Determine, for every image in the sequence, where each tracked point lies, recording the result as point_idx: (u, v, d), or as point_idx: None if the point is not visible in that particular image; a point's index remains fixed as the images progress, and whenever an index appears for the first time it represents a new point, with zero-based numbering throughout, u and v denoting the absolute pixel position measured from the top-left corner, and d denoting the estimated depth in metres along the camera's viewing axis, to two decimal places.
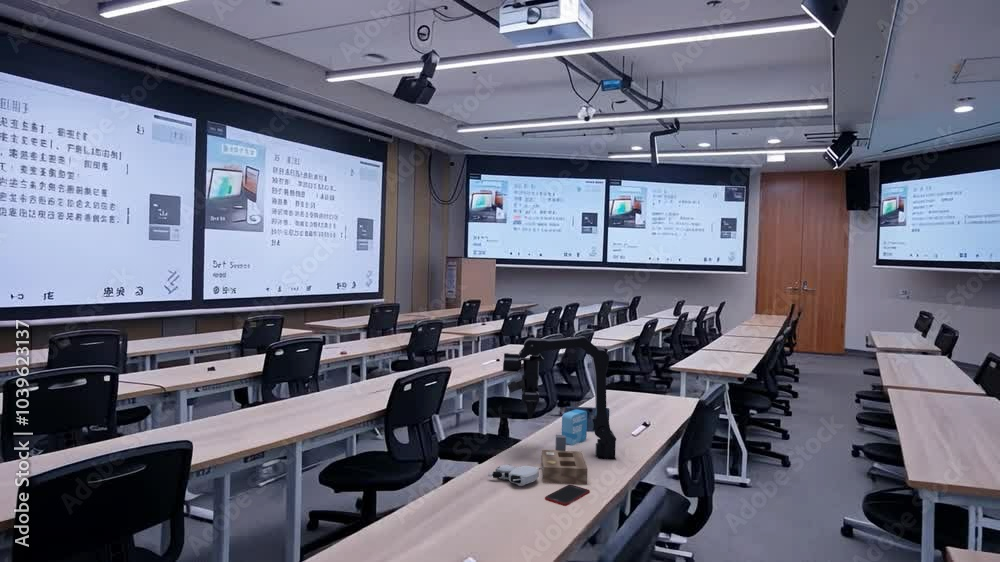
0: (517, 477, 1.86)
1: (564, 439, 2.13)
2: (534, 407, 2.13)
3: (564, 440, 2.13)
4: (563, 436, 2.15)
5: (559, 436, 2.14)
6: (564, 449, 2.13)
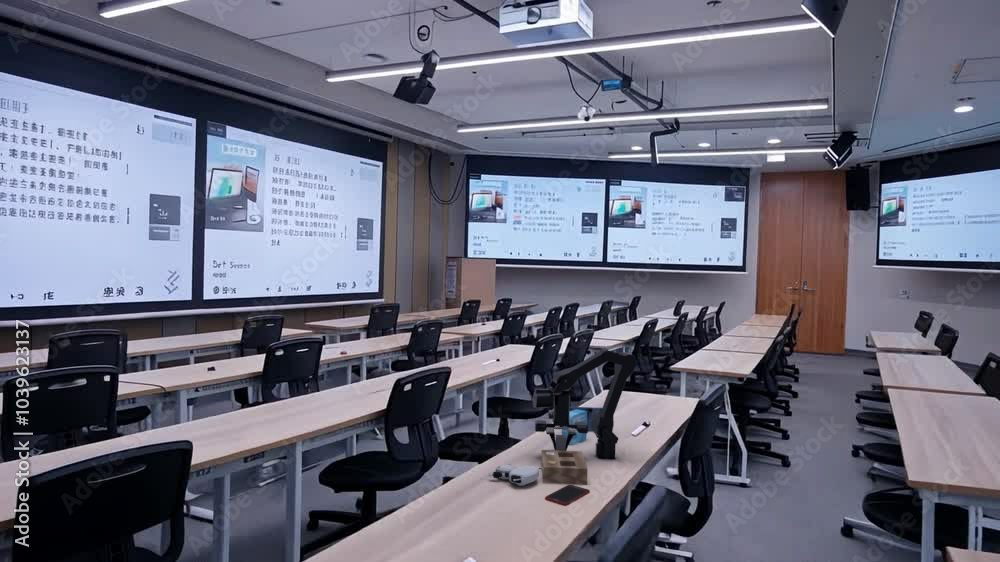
0: (517, 477, 1.86)
1: (564, 439, 2.13)
2: (551, 439, 2.13)
3: (564, 440, 2.13)
4: (563, 436, 2.15)
5: (559, 436, 2.14)
6: (564, 449, 2.13)
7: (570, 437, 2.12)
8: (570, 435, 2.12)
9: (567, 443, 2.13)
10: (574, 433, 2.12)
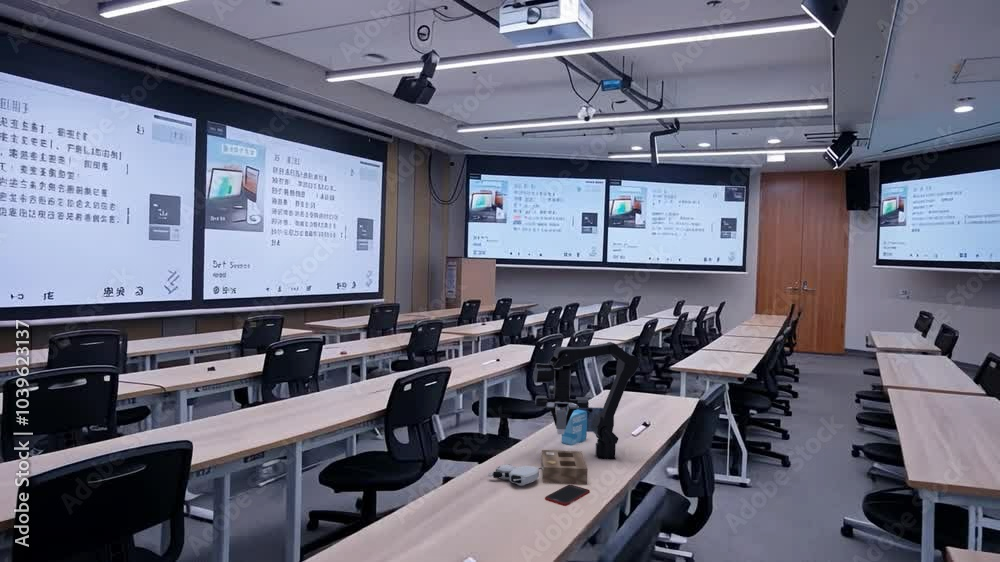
0: (518, 477, 1.86)
1: (565, 414, 2.13)
2: (552, 414, 2.13)
3: (565, 415, 2.13)
4: (563, 411, 2.15)
5: (560, 411, 2.14)
6: (565, 424, 2.13)
7: (571, 412, 2.12)
8: (571, 410, 2.12)
9: (568, 418, 2.13)
10: (575, 408, 2.12)
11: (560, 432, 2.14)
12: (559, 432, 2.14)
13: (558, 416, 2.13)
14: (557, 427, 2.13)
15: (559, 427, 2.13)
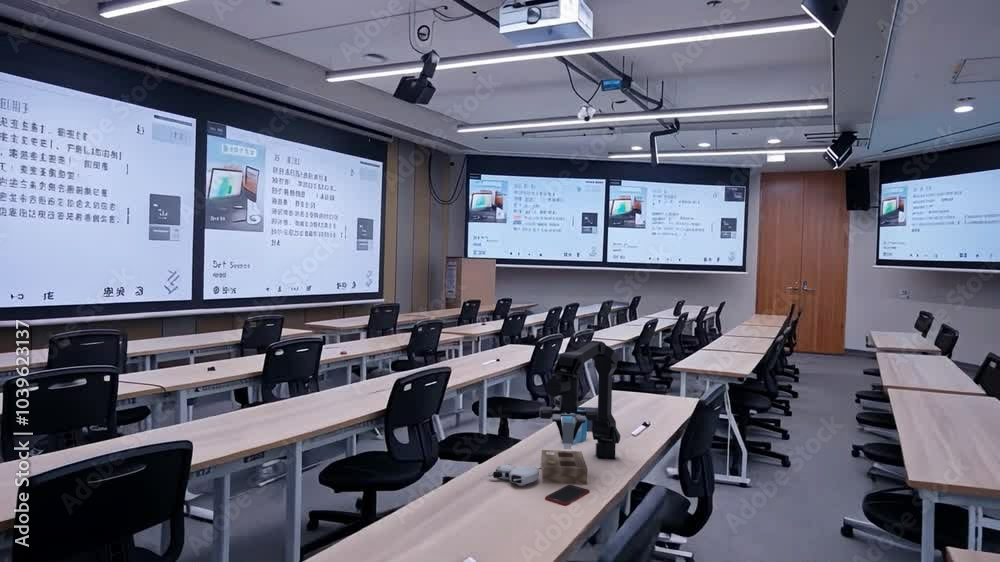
0: (518, 477, 1.86)
1: (572, 427, 1.94)
2: (558, 427, 1.94)
3: (572, 428, 1.94)
4: (570, 423, 1.96)
5: (566, 424, 1.95)
6: (572, 438, 1.94)
7: (578, 425, 1.93)
8: (578, 423, 1.93)
9: (575, 431, 1.94)
10: (583, 420, 1.93)
11: (567, 447, 1.95)
12: (566, 447, 1.95)
13: (564, 429, 1.94)
14: (563, 441, 1.94)
15: (566, 441, 1.94)
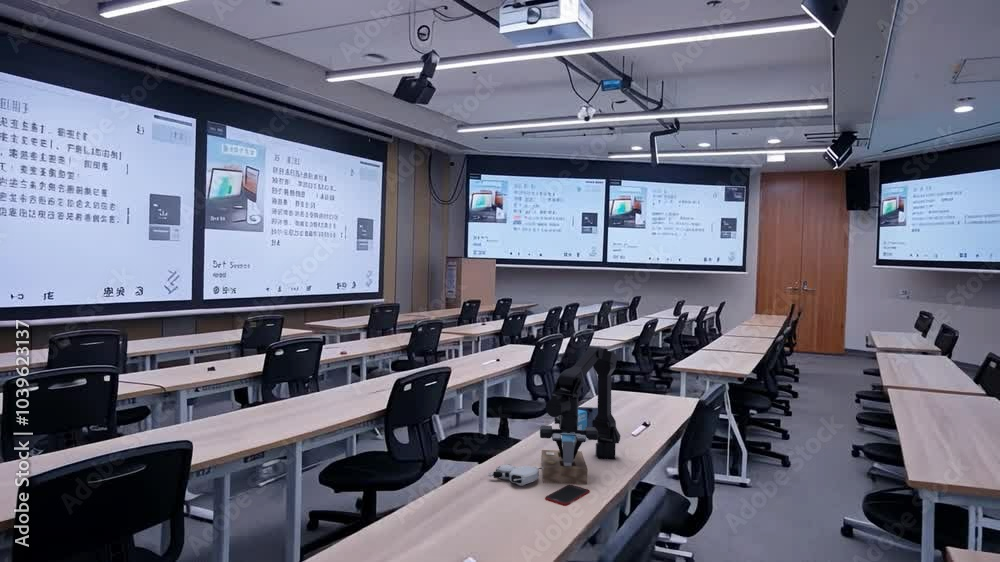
0: (518, 477, 1.86)
1: (572, 446, 1.94)
2: (558, 446, 1.94)
3: (572, 447, 1.94)
4: (571, 442, 1.95)
5: (566, 443, 1.95)
6: (572, 457, 1.94)
7: (579, 444, 1.93)
8: (579, 442, 1.92)
9: (575, 451, 1.94)
10: (583, 440, 1.93)
11: None
12: None
13: (565, 448, 1.94)
14: (564, 460, 1.94)
15: (566, 460, 1.94)
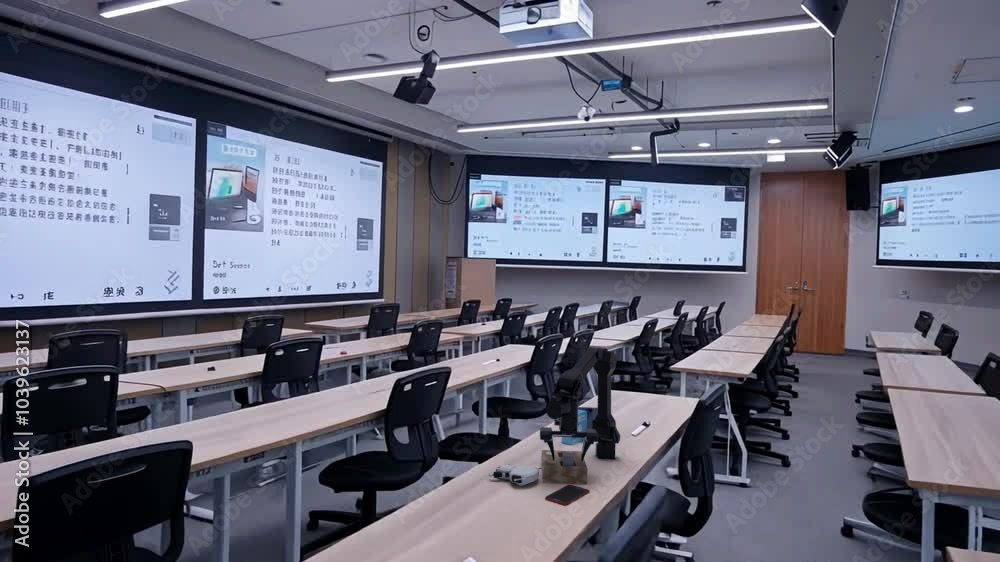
0: (518, 477, 1.86)
1: (572, 458, 1.94)
2: None
3: (572, 459, 1.94)
4: (570, 454, 1.95)
5: (566, 454, 1.95)
6: None
7: (587, 446, 1.93)
8: (587, 444, 1.92)
9: (584, 453, 1.94)
10: (591, 442, 1.93)
11: None
12: None
13: (564, 460, 1.94)
14: None
15: None
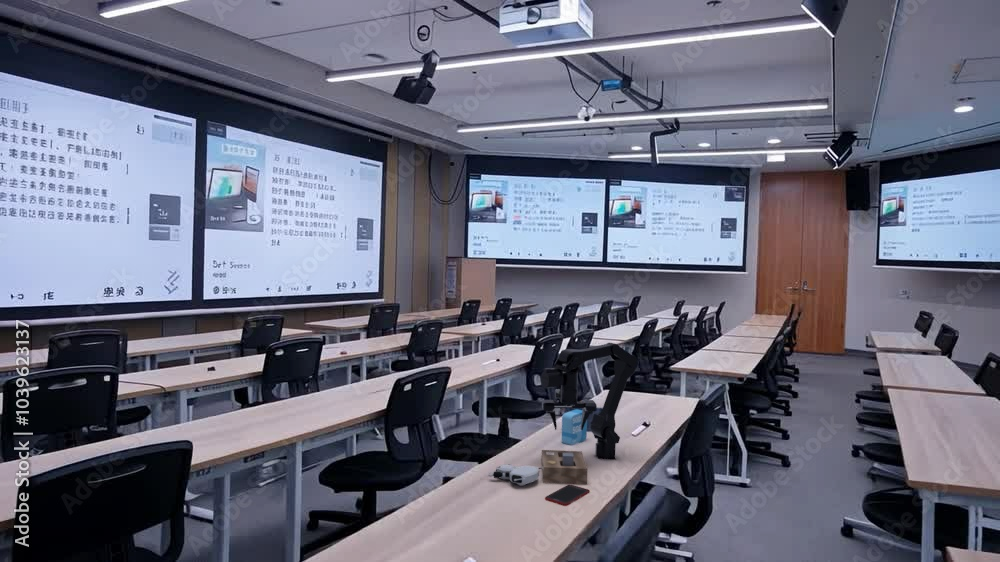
0: (518, 477, 1.86)
1: (572, 458, 1.94)
2: (552, 418, 2.09)
3: (572, 459, 1.94)
4: (570, 454, 1.95)
5: (566, 454, 1.95)
6: None
7: (586, 416, 2.08)
8: (587, 414, 2.08)
9: (583, 422, 2.09)
10: (590, 411, 2.09)
11: None
12: None
13: (564, 460, 1.94)
14: None
15: None
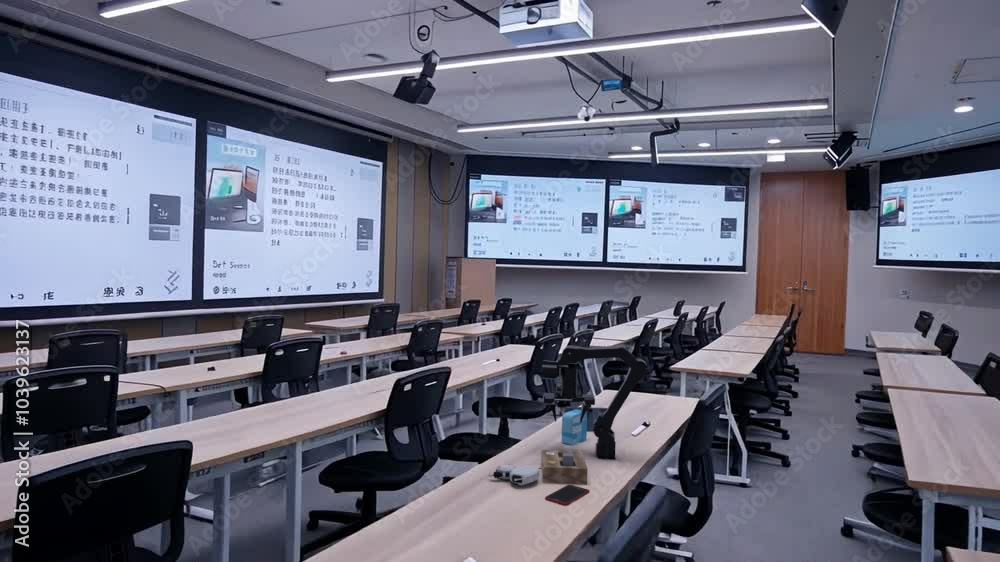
0: (518, 477, 1.86)
1: (572, 458, 1.94)
2: (552, 411, 2.19)
3: (572, 459, 1.94)
4: (570, 454, 1.95)
5: (566, 454, 1.95)
6: None
7: (585, 409, 2.18)
8: (585, 407, 2.17)
9: (582, 415, 2.19)
10: (589, 405, 2.18)
11: None
12: None
13: (564, 460, 1.94)
14: None
15: None
